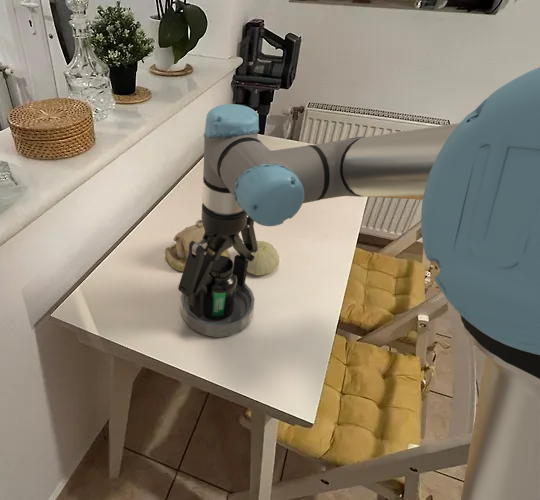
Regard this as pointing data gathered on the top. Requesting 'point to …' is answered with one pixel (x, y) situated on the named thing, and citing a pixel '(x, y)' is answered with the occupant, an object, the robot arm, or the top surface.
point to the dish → (225, 326)
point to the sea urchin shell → (263, 259)
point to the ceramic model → (186, 245)
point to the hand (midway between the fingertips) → (217, 297)
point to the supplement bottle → (219, 290)
